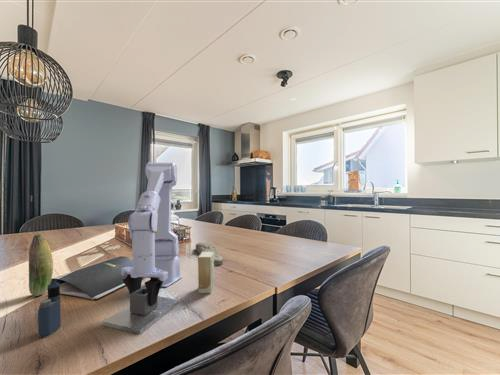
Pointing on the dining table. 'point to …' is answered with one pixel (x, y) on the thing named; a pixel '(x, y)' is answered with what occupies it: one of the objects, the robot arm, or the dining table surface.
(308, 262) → the dining table surface
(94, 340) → the dining table surface
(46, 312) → the vaping device
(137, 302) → the hollow square box
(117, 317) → the shaft plate
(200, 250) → the elongated rock
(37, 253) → the vegetable
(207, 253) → the skincare box
